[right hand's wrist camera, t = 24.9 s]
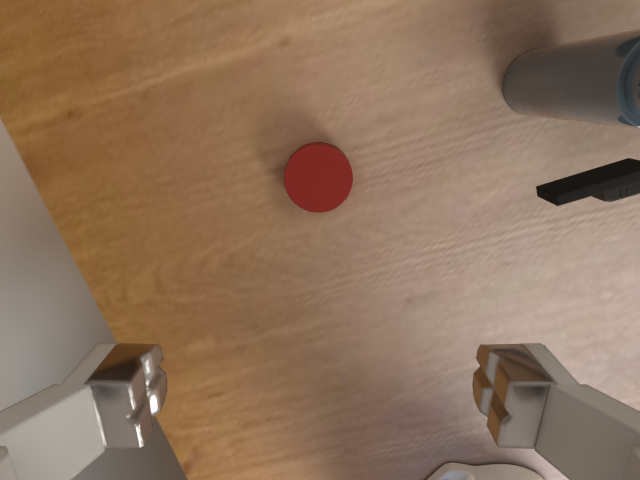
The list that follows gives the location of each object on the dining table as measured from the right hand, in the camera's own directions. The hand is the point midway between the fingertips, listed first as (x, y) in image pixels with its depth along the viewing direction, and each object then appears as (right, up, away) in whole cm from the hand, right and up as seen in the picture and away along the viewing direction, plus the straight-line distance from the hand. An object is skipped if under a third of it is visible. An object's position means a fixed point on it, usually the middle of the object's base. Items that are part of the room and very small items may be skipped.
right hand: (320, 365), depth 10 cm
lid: (0, +8, +23) cm, 25 cm away
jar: (+17, +16, +22) cm, 32 cm away
